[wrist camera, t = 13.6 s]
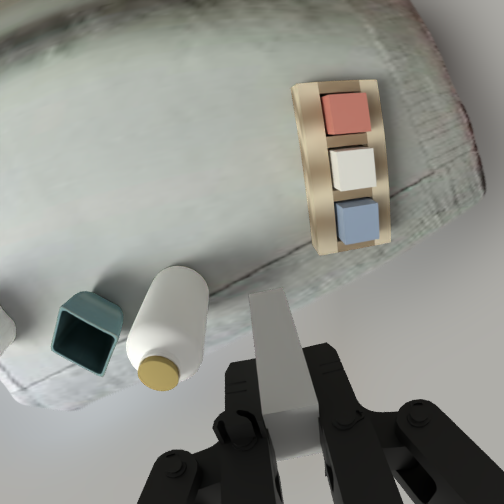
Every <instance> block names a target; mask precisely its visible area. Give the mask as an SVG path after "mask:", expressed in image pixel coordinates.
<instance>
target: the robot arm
mask: <svg viewBox="0 0 504 504" xmlns="http://www.w3.org/2000/svg"><path fill="white" fill-rule="evenodd" d="M249 303H250V312H251V321H252V330H253V339H254V347H255V356H256V358H255V359H250V360H244V361H238V362H232V363H230V365H229V367H228V369H227V370H226V373H225V411H224V412H222V413H221V414H220V415H219V416H218V417H217V418H216V420H215V421H214V424H213V430H214V432H215V434H216V436H217V438H218V440H219V441H218V442H217V443H216V444H215V445H213V446H212V447H210V448H208V449H205V450H202V451H200V452H197V453H194V454H191V453H189V452H188V451H184V450H171V451H168V452H165V453H164V454H162V455H161V456H160V457H158V459H157V460H156V462H155V463H154V465H153V468H152V470H151V472H150V475H149V477H148V479H147V481H146V484H145V486H144V489H143V491H142V493H141V496H140V498H139V500H138V502H137V504H284V502H283V497H282V489H281V482H280V476H279V473H278V470H277V463H276V462H277V461H283V460H288V459H294V458H298V457H303V456H308V455H313V454H317V453H321V452H323V456H324V460H325V476H327V477H328V481H329V485H330V489H331V494H332V497H333V501H334V504H403V501H402V498H401V496H400V493H399V490H398V488H397V485H396V483H395V480H394V478H395V479H396V480H397V482H398V483H399V484H400V485H401V487H402V488H403V489H404V491H405V492H406V493H407V494H408V496H409V497H410V498H411V500H412V501H413V502H414V503H415V504H504V471H503V470H502V469H501V468H499V466H498V465H497V464H496V463H495V462H494V461H493V460H491V459H490V457H489V456H488V455H487V454H486V453H485V452H484V451H482V450H481V449H480V448H479V447H478V446H477V445H476V444H475V443H474V442H473V441H472V440H471V439H470V438H469V437H468V436H467V435H466V434H465V433H464V432H463V431H462V430H461V429H460V428H459V427H458V426H457V425H456V424H455V423H454V422H453V421H452V420H451V419H450V418H449V417H448V416H447V415H446V414H445V413H444V412H442V411H441V410H440V409H439V408H438V407H437V406H436V405H435V404H433V403H432V402H430V401H427V400H423V399H419V400H412V401H409V402H407V403H405V404H404V405H403V406H402V407H401V408H400V409H399V411H398V412H374V411H370V410H368V409H366V408H364V407H363V406H361V405H360V404H359V402H358V401H357V399H356V397H355V394H354V392H353V389H352V387H351V384H350V382H349V380H348V377H347V375H346V373H345V371H344V368H343V366H342V363H341V362H340V358H339V356H338V354H337V351H336V350H335V349H334V348H333V347H332V346H330V345H329V344H328V343H323V344H318V345H313V346H310V347H305V348H302V347H301V344H300V340H299V337H298V334H297V331H296V328H295V324H294V321H293V318H292V314H291V311H290V308H289V305H288V301H287V298H286V295H285V292H284V289H283V287H281V288H276V289H272V290H267V291H262V292H257V293H252V294H249ZM393 476H394V477H393Z"/></svg>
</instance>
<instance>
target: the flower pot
mask: <svg viewBox="0 0 504 504" xmlns="http://www.w3.org/2000/svg"><path fill="white" fill-rule="evenodd" d="M122 325H123V313H122V310H121V309H120V308H119V306H117V305H116V304H114V303H112V302H110V301H108V300H106V299H104V298H102V297H100V296H99V295H97V294H95V293H93V292H87V291H84V292H79V293H77V294H75V295H74V296H73V297H71V298H70V299H69V300H68V301H67V302H66V303H64V304H63V305H62V306H61V307H60V309H59V312H58V317H57V322H56V326H55V330H54V335H53V339H52V343H51V350H52V351H53V352H55V353H56V354H58V355H60V356H61V357H63V358H65V359H67V360H69V361H71V362H73V363H75V364H77V365H79V366H81V367H82V368H84V369H86V370H88V371H90V372H92V373H94V374H96V375H98V376H101V377H103V376H104V374H105V371H106V369H107V366H108V363H109V361H110V358H111V356H112V353H113V351H114V349H115V346H116V344H117V342H118V339H119V336H120V332H121V328H122Z"/></svg>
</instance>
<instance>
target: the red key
mask: <svg viewBox="0 0 504 504" xmlns="http://www.w3.org/2000/svg"><path fill="white" fill-rule="evenodd" d="M320 101H321V107H322V114H323V120H324V127H325V134H333V135H336V134H346V133H357V132H369V131H371V123H370V116H369V109H368V102H367V95H366V93H348V94H332V95H326V96H323V97H320Z"/></svg>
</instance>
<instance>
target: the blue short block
mask: <svg viewBox="0 0 504 504" xmlns="http://www.w3.org/2000/svg"><path fill="white" fill-rule="evenodd" d="M334 211H335V222H336V235H337V236H338V237H339V238H340V240H341V241H342V242H343V243H344V244H345V245H348V244H354V243H359V242H365V241H370V240H375V239H379V212H378V203H377V202H375V201H374V200H372V199H370V198H368V197H362V198H355V199H348V200H342V201H335V202H334Z"/></svg>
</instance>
